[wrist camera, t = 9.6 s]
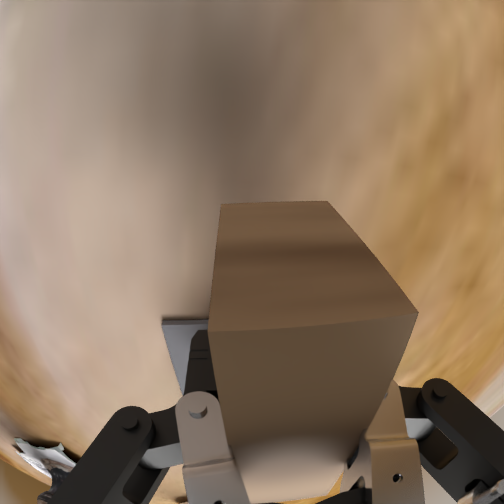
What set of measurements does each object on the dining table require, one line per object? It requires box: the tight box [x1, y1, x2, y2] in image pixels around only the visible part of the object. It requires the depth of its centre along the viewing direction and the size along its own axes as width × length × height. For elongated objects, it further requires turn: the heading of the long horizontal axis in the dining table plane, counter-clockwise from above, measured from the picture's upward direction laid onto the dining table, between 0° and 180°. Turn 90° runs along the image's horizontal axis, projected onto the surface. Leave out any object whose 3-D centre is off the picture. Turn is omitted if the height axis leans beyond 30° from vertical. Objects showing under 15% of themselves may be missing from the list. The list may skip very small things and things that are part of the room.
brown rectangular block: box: [208, 201, 419, 504], centre depth 9 cm, size 10×4×6 cm, turn 1°
